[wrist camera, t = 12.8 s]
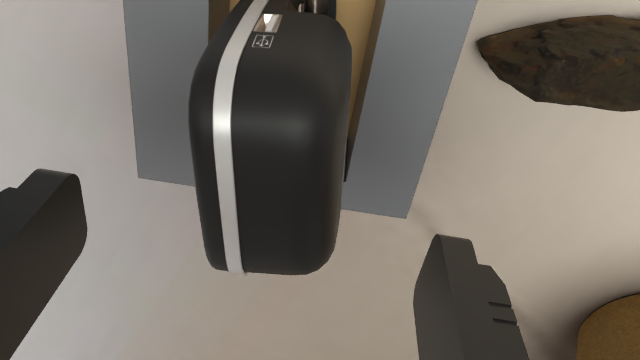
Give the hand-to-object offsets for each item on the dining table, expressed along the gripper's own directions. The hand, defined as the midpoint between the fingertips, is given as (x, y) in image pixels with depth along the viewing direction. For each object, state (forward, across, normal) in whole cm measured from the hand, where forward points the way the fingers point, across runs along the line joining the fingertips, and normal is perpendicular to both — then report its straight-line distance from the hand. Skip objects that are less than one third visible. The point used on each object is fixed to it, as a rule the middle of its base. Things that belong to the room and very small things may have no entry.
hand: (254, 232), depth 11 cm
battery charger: (+13, 0, 0) cm, 13 cm away
